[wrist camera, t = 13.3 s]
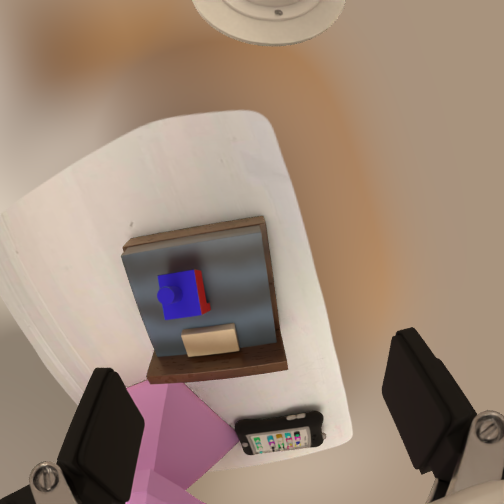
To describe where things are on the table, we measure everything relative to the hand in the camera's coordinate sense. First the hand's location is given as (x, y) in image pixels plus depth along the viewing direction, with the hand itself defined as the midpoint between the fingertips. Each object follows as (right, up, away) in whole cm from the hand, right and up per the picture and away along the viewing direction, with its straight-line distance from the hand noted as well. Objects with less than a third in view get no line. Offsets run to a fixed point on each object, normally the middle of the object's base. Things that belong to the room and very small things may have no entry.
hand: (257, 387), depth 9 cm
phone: (+5, -27, +40) cm, 49 cm away
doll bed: (-6, 0, +28) cm, 29 cm away
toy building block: (-7, +1, +22) cm, 23 cm away
